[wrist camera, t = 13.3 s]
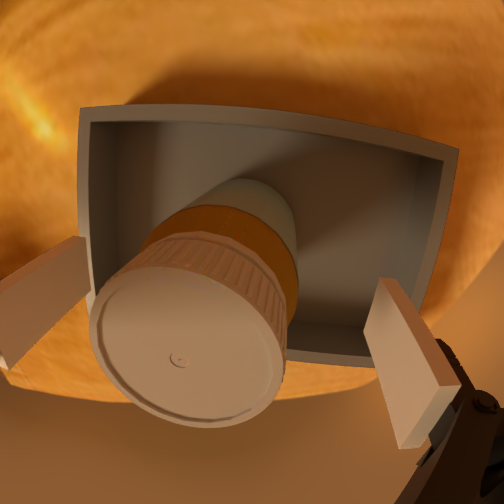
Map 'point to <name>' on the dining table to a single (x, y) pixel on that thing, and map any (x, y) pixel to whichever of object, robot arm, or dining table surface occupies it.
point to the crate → (290, 187)
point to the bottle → (204, 309)
